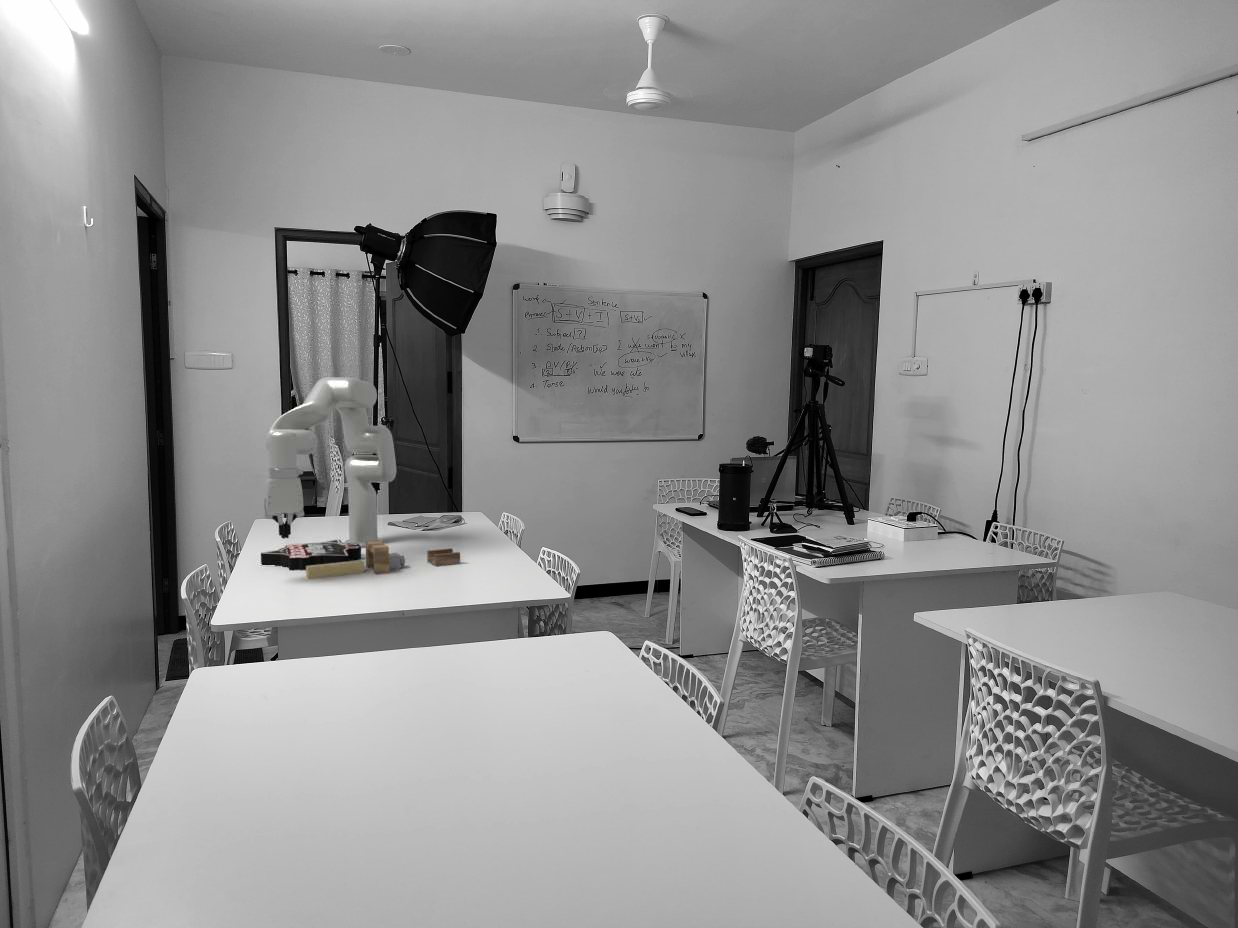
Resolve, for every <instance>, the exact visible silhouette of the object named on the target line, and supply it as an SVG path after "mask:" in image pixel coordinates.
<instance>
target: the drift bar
mask: <svg viewBox="0 0 1238 928" xmlns="http://www.w3.org/2000/svg"><path fill="white" fill-rule="evenodd" d="M364 562H365V561H363V560H361V559H359V560H351V561H348V562H339V563H329V564H320V565H310V566H306V570H305V578H307V579H308V580H309V579H310V580H311V579H312V580H313V579H318V578H319V579H320V578H327V577H329V578H330V577H336V576H346V575H355V574H363V573H365V565H364Z"/></svg>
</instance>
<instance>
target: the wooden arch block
mask: <svg viewBox="0 0 1238 928" xmlns="http://www.w3.org/2000/svg"><path fill="white" fill-rule="evenodd" d="M389 553H390V547H389V546H388V545H387V544H385V543H383V541H382V542H380V541H379V540H377V541H366V547H365V567H366V568H367V569H373V574H374V575H382V574H383V573H384V574H390V570H389ZM373 566H374V567H373Z"/></svg>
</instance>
